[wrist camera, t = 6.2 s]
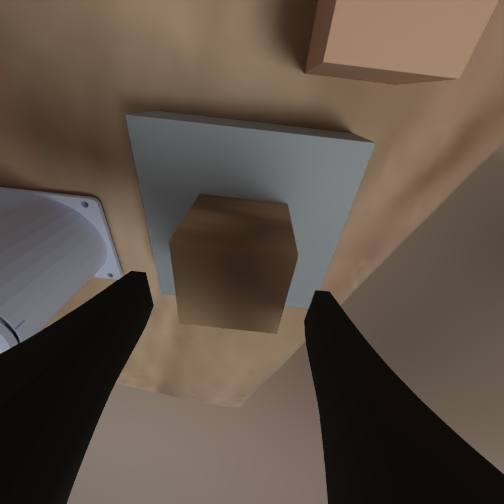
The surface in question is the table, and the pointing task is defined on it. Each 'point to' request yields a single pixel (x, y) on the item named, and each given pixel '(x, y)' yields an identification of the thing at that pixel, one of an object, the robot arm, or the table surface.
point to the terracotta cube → (396, 39)
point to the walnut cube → (233, 263)
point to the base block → (248, 181)
